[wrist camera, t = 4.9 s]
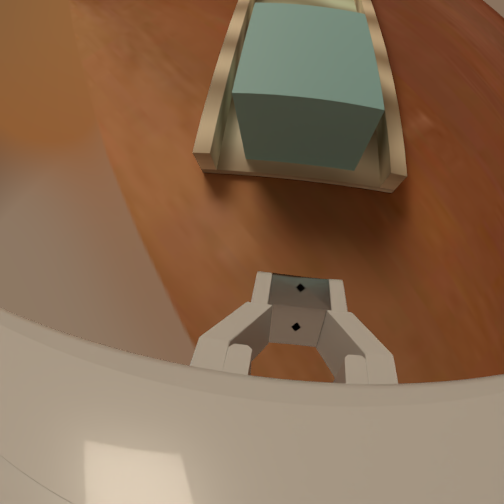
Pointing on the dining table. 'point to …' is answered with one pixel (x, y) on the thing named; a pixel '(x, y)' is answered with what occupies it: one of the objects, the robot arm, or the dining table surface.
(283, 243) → the dining table surface
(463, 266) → the dining table surface
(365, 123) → the teal block
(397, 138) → the trap lane
